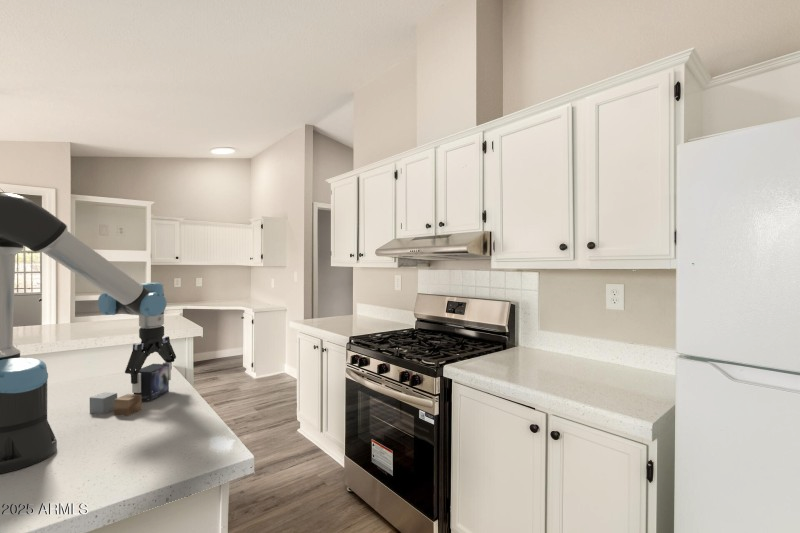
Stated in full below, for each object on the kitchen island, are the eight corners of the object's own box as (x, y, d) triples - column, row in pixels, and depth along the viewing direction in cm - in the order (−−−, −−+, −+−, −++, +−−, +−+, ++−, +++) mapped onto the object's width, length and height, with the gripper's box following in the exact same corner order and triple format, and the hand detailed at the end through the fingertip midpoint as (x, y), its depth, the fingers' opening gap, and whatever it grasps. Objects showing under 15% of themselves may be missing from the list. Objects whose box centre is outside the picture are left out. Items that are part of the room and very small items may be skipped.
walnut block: (128, 416, 121) (128, 400, 121) (114, 415, 121) (114, 399, 121) (141, 410, 126) (141, 394, 125) (128, 409, 126) (128, 393, 126)
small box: (151, 402, 133) (151, 371, 132) (132, 401, 133) (132, 371, 133) (170, 391, 143) (170, 363, 143) (152, 391, 143) (152, 363, 143)
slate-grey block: (103, 414, 122) (103, 398, 122) (89, 413, 123) (89, 397, 123) (117, 408, 127) (117, 393, 127) (104, 407, 128) (104, 392, 128)
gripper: (131, 333, 125) (132, 399, 125) (186, 321, 149) (186, 375, 150) (111, 332, 126) (112, 397, 126) (168, 320, 151) (169, 374, 151)
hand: (152, 386), depth 138 cm, fingers open, 13 cm apart
